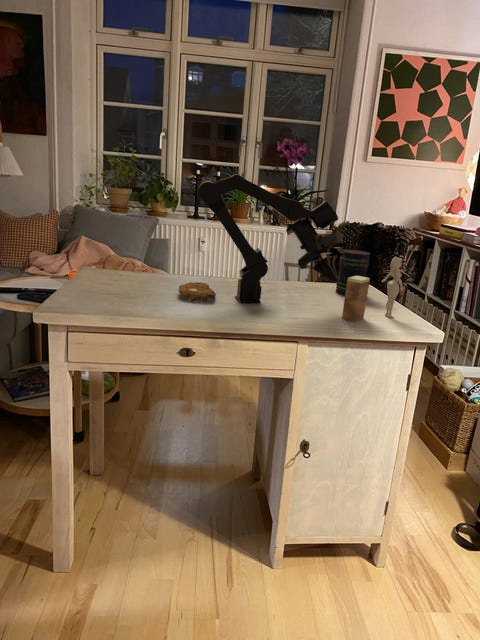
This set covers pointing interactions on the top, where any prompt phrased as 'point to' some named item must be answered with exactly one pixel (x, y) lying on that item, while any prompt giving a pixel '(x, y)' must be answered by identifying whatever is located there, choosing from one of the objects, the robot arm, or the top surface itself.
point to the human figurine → (393, 284)
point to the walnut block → (355, 298)
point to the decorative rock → (196, 292)
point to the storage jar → (351, 267)
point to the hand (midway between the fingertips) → (337, 281)
